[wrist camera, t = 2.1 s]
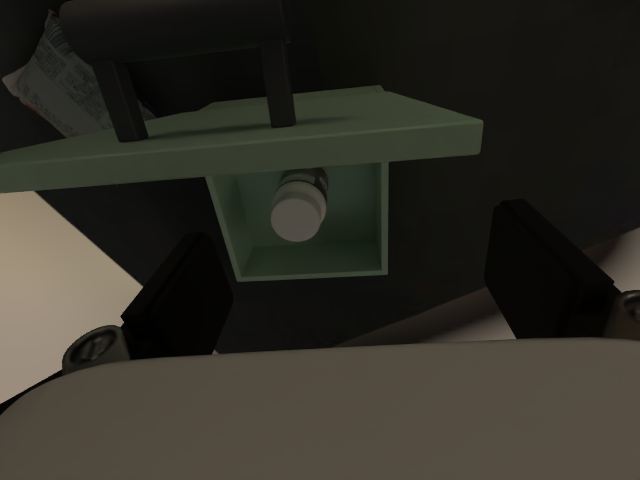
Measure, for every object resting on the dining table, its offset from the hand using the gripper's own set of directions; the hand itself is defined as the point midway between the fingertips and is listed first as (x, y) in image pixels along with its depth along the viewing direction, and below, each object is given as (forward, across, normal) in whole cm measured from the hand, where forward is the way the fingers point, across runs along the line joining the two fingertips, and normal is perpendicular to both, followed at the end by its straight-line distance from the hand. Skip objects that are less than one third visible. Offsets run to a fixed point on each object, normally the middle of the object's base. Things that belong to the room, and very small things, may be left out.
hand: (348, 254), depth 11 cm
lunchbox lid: (+7, +4, -3) cm, 9 cm away
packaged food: (+22, +22, -4) cm, 32 cm away
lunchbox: (+22, +5, +6) cm, 24 cm away
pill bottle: (+22, +5, +6) cm, 23 cm away
